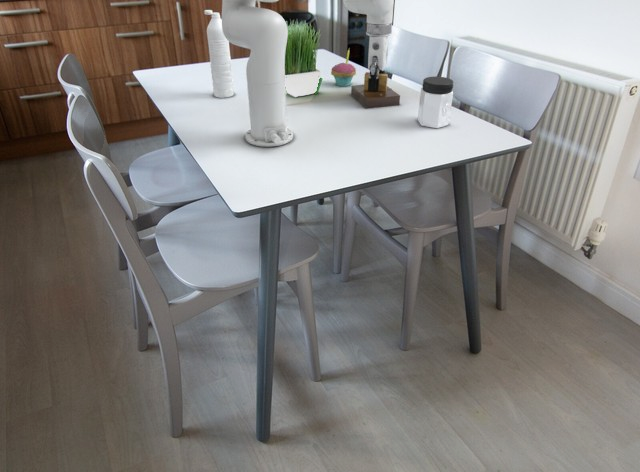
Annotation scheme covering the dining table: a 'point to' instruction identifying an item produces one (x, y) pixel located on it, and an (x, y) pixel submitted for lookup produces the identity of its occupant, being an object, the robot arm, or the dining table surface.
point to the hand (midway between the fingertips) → (375, 86)
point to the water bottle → (219, 57)
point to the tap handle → (381, 82)
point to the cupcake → (343, 72)
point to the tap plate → (375, 97)
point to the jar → (435, 102)
